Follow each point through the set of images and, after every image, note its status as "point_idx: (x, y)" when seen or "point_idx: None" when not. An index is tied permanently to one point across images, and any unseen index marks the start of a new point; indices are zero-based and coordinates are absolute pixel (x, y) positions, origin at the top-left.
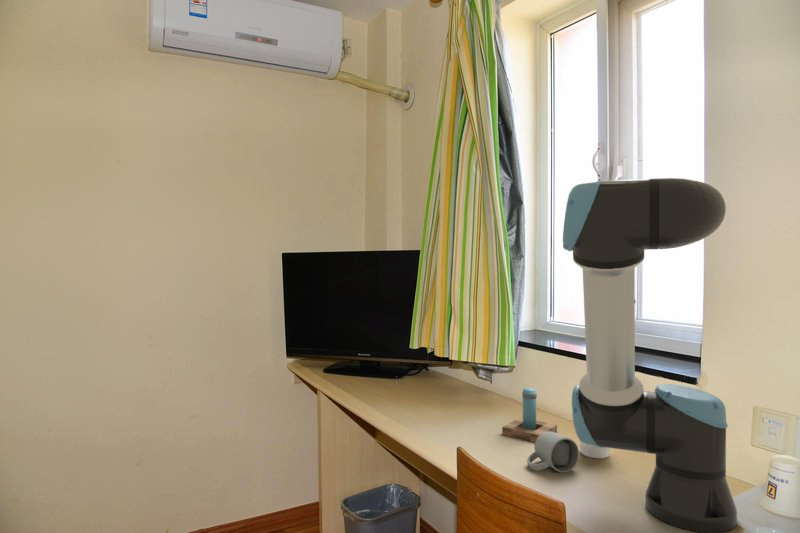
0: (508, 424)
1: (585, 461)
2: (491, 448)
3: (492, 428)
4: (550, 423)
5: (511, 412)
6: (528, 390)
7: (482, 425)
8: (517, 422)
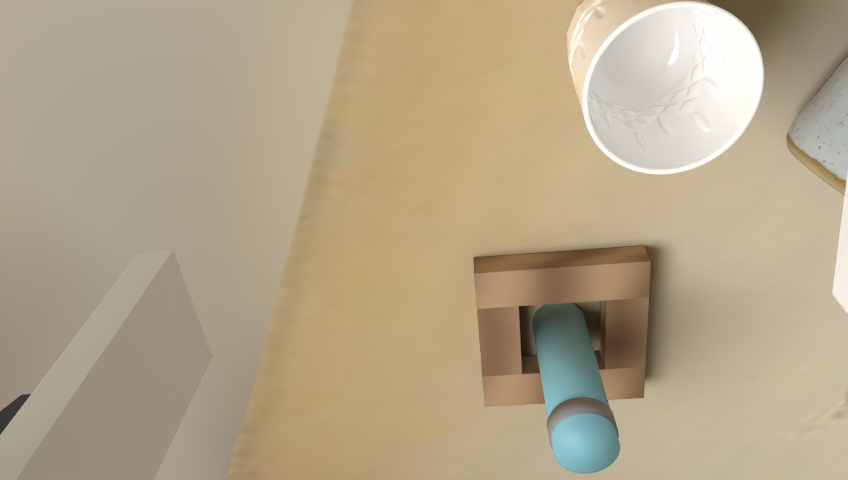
0: None
1: None
2: (802, 337)
3: None
4: (476, 298)
5: (376, 466)
6: (604, 446)
7: None
8: None
